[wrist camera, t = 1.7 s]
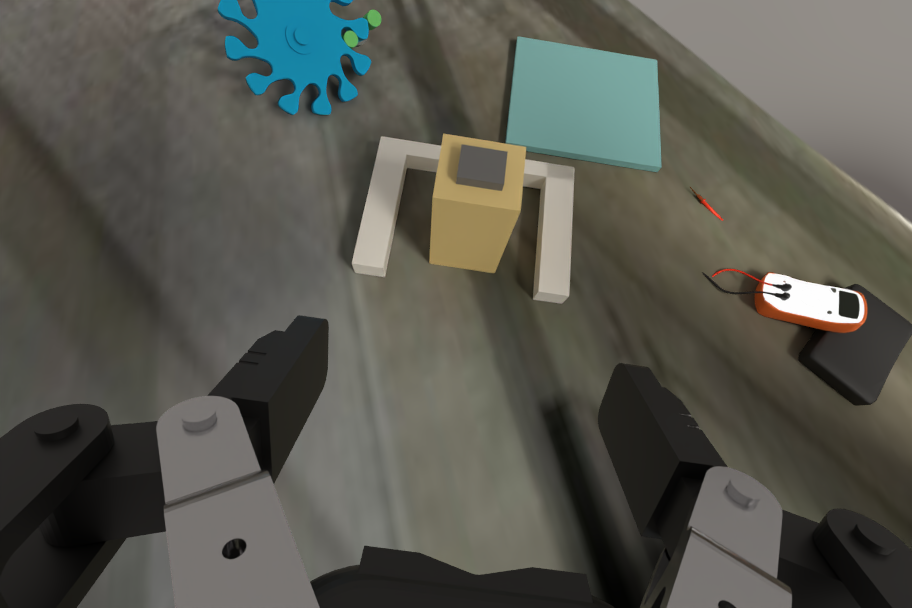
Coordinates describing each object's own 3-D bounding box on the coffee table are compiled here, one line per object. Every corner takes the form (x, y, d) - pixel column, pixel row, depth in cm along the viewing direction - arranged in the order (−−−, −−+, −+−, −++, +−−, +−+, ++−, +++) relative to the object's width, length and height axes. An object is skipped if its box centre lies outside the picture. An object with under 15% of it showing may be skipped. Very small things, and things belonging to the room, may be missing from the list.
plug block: (500, 222, 30) (529, 139, 22) (494, 273, 29) (523, 204, 21) (437, 212, 30) (444, 125, 22) (429, 263, 29) (432, 190, 21)
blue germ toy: (255, 130, 29) (188, -52, 25) (250, 130, 34) (192, -22, 30) (401, 99, 33) (366, -64, 28) (378, 103, 38) (344, -36, 33)
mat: (653, 66, 36) (657, 60, 36) (657, 172, 33) (661, 167, 32) (516, 42, 36) (517, 36, 36) (504, 147, 32) (506, 142, 32)
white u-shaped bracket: (567, 179, 32) (574, 167, 31) (561, 303, 29) (569, 296, 27) (382, 150, 31) (381, 136, 30) (355, 272, 28) (351, 263, 27)
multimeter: (607, 261, 31) (629, 239, 27) (704, 172, 34) (734, 143, 31) (812, 458, 27) (866, 459, 24) (898, 338, 30) (954, 326, 27)
